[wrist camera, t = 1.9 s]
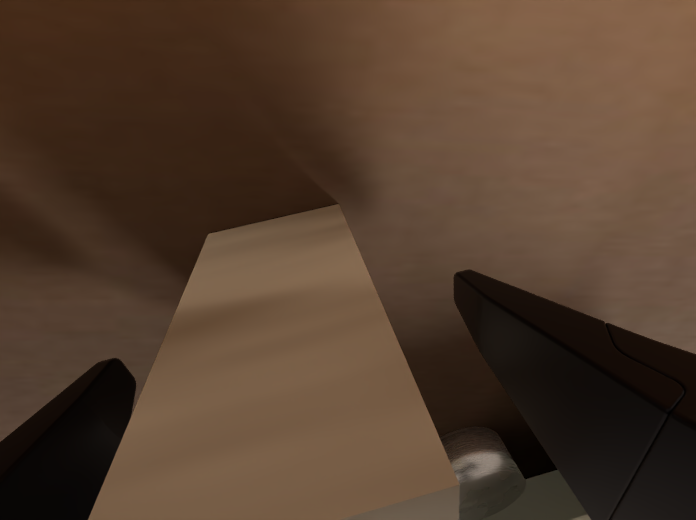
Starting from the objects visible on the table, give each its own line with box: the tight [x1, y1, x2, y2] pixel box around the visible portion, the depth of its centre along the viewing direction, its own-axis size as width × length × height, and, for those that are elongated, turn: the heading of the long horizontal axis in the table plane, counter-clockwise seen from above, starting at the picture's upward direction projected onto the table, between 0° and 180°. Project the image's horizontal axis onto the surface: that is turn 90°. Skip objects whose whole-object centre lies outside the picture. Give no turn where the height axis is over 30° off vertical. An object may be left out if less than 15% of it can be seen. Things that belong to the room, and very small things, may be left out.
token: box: [440, 427, 526, 520], centre depth 18 cm, size 5×5×2 cm
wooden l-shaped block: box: [88, 204, 460, 520], centre depth 11 cm, size 16×4×8 cm, turn 10°
